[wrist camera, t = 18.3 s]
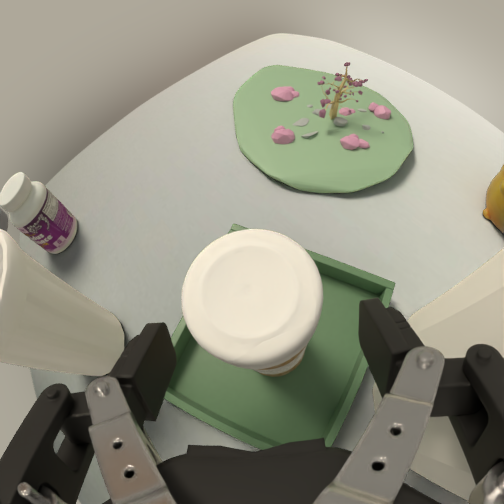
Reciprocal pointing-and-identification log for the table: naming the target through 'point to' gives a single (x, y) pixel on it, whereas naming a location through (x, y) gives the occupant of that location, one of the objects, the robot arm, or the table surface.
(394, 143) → the plant
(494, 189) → the mug
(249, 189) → the table surface
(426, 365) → the robot arm
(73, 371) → the cup
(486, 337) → the container
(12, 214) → the pill bottle
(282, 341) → the sprinkles bottle
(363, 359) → the green tray
